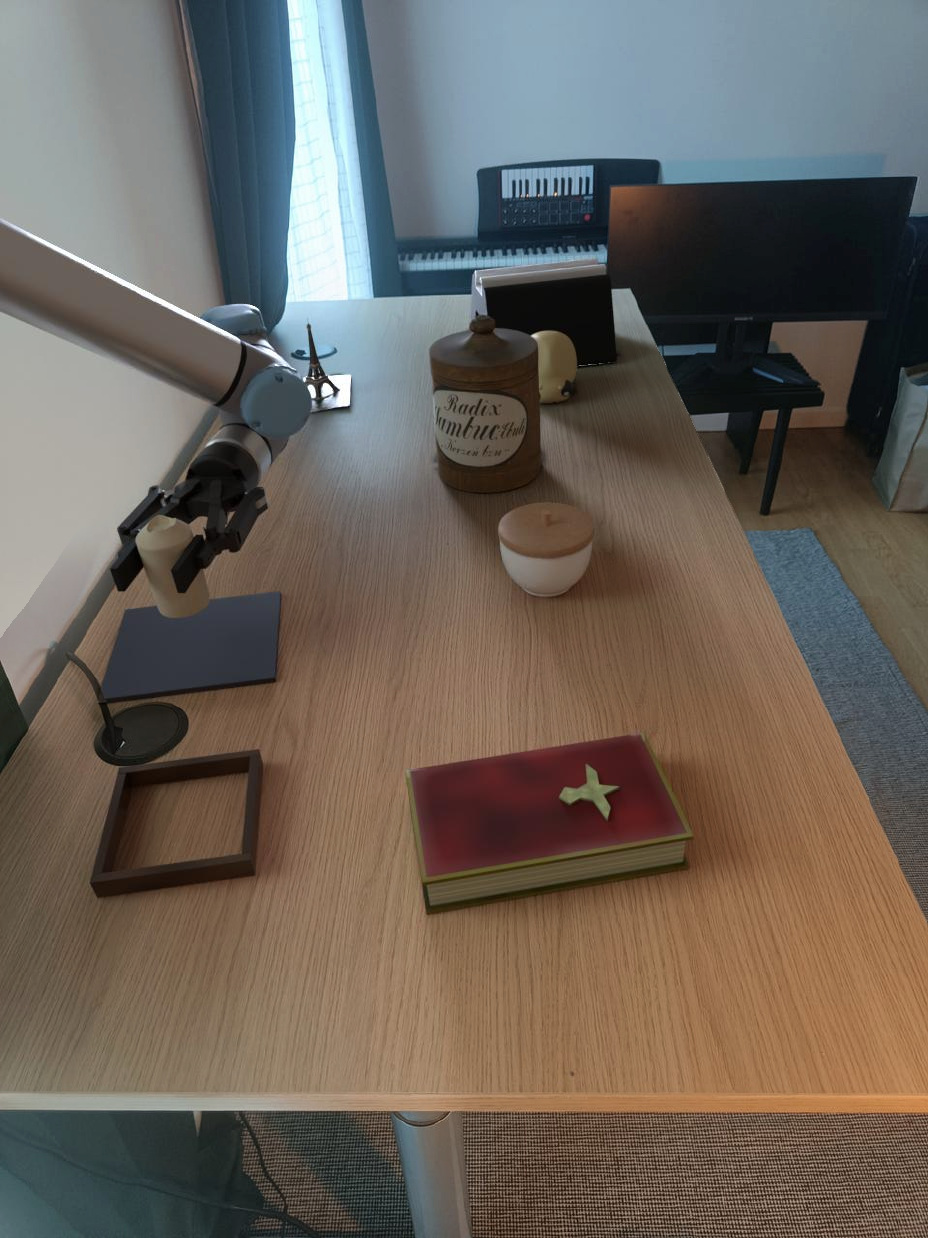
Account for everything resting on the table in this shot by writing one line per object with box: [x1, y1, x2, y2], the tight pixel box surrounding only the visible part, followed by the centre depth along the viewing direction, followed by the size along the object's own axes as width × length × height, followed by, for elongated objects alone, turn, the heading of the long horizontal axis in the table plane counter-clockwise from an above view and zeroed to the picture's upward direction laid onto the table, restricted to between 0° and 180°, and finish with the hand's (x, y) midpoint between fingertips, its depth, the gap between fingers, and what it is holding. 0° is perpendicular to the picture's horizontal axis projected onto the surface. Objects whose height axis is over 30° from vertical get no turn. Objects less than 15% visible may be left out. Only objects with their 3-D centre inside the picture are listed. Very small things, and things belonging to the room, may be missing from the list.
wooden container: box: [428, 315, 542, 494], centre depth 119 cm, size 15×15×22 cm
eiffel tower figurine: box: [302, 317, 352, 413], centre depth 148 cm, size 15×10×13 cm
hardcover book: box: [404, 732, 695, 915], centre depth 71 cm, size 12×21×4 cm, turn 99°
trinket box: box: [497, 501, 595, 598], centre depth 99 cm, size 11×11×9 cm
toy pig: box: [531, 331, 578, 404], centre depth 144 cm, size 10×12×11 cm
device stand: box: [470, 257, 618, 366], centre depth 159 cm, size 22×22×15 cm
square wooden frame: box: [89, 748, 264, 899], centre depth 75 cm, size 13×13×2 cm
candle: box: [135, 515, 211, 618], centre depth 89 cm, size 6×6×10 cm
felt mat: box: [100, 590, 282, 704], centre depth 96 cm, size 18×16×1 cm
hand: (147, 580), depth 84 cm, fingers closed on candle, 5 cm apart
